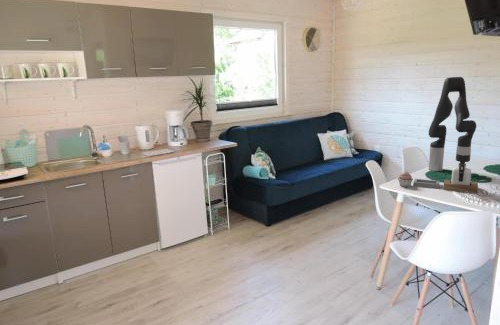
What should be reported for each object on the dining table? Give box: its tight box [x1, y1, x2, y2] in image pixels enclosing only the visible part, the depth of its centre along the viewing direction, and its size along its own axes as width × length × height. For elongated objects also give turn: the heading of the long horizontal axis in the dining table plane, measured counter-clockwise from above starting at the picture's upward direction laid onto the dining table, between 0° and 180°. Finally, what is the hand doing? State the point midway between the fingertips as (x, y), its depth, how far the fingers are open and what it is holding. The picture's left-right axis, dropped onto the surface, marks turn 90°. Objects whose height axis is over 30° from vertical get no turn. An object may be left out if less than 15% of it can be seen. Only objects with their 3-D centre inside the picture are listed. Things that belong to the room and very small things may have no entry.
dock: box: [442, 179, 479, 194], centre depth 222 cm, size 11×18×4 cm, turn 59°
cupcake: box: [397, 170, 414, 188], centre depth 232 cm, size 9×9×10 cm
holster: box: [412, 178, 441, 189], centre depth 232 cm, size 8×14×2 cm, turn 59°
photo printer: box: [450, 167, 472, 185], centre depth 221 cm, size 10×4×12 cm, turn 67°
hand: (460, 180), depth 221 cm, fingers closed on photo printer, 4 cm apart
